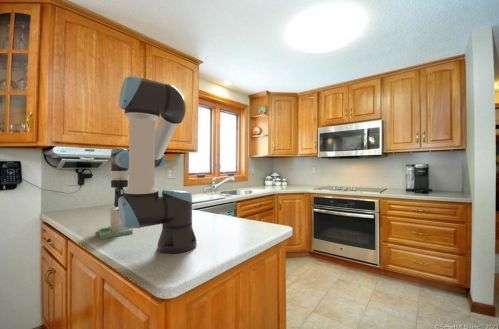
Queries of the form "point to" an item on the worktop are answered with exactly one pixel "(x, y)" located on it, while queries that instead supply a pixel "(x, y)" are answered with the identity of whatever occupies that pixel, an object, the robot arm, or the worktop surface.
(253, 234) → the worktop surface
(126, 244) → the worktop surface
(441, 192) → the worktop surface
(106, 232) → the deck
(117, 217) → the cup
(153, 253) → the worktop surface
